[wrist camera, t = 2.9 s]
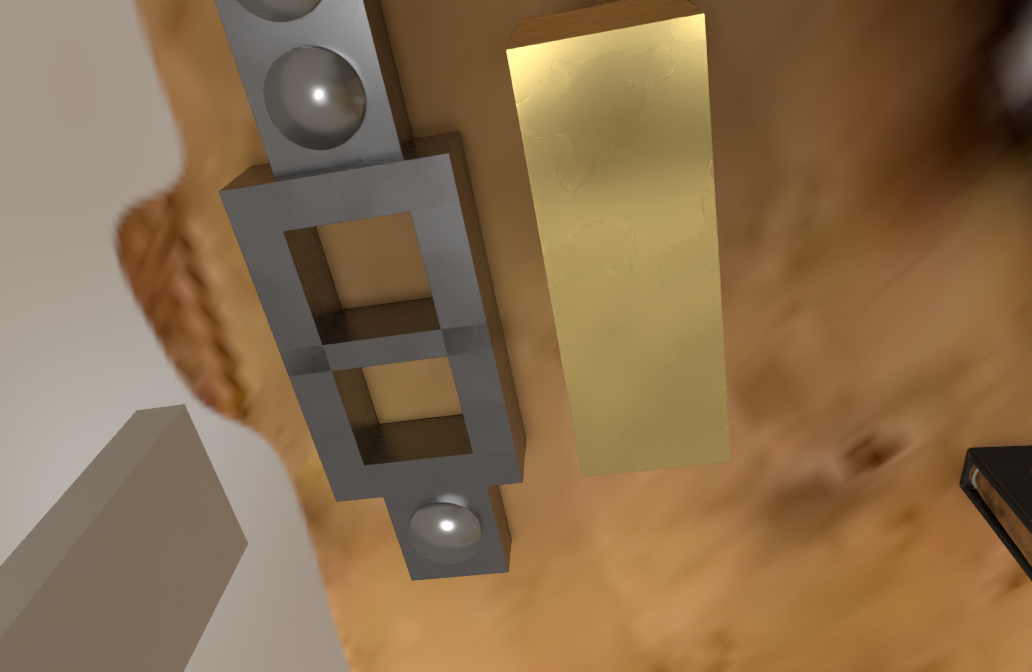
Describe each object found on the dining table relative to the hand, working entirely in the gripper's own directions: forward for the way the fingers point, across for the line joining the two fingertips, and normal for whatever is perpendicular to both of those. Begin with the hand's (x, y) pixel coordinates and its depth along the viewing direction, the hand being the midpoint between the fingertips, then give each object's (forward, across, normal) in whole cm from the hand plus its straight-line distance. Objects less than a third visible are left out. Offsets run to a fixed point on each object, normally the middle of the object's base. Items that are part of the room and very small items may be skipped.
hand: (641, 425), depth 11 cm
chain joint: (+15, -8, -5) cm, 17 cm away
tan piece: (+15, 0, 0) cm, 15 cm away
